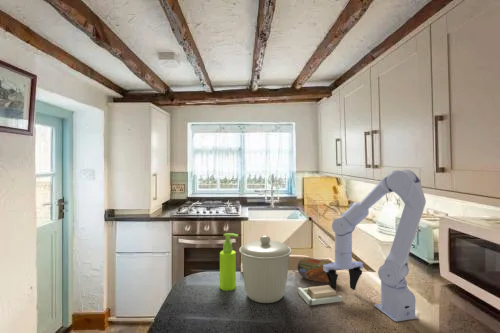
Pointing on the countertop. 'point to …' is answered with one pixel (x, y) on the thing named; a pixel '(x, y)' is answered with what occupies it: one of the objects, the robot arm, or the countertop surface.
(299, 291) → the bracket
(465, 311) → the countertop surface
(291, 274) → the countertop surface
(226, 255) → the soap dispenser
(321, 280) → the tin
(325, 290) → the tan rectangular block
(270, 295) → the canister
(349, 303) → the countertop surface
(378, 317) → the countertop surface
